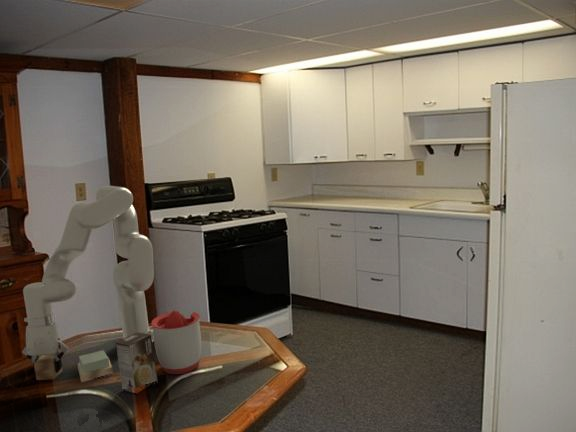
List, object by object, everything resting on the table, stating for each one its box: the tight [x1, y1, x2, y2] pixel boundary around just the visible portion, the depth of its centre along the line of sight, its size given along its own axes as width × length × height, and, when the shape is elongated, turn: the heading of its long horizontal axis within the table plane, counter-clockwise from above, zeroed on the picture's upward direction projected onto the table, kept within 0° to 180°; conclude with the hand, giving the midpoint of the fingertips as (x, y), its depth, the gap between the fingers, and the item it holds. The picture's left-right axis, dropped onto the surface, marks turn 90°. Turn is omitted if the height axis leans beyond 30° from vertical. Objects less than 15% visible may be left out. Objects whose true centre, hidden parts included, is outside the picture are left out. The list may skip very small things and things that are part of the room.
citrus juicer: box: [150, 309, 202, 375], centre depth 181 cm, size 16×17×20 cm
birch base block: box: [77, 356, 114, 383], centre depth 182 cm, size 10×10×3 cm
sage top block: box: [78, 349, 110, 373], centre depth 182 cm, size 8×8×3 cm
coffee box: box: [115, 332, 158, 390], centre depth 169 cm, size 9×6×16 cm
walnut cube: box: [33, 355, 63, 381], centre depth 182 cm, size 6×6×6 cm
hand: (48, 370), depth 182 cm, fingers closed on walnut cube, 6 cm apart
